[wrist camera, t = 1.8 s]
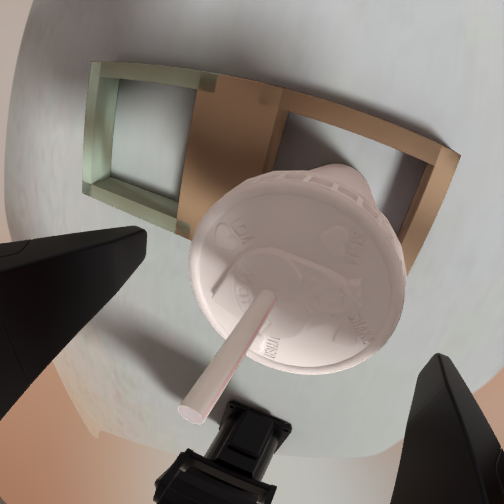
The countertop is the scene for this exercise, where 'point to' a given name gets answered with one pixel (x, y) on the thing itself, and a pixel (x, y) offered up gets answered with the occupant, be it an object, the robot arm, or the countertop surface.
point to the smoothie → (294, 277)
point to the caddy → (241, 146)
